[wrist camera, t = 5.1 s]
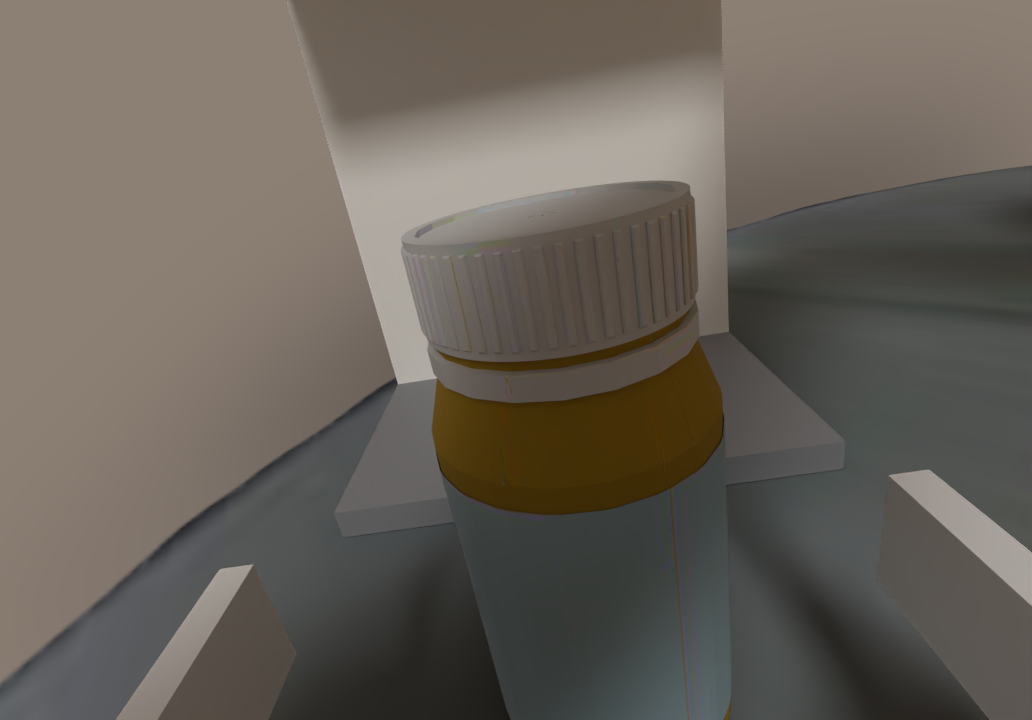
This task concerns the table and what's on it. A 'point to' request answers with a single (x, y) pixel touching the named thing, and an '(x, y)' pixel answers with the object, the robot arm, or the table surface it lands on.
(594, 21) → the shelf unit
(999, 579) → the robot arm
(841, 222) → the table surface
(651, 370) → the bottle
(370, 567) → the table surface
